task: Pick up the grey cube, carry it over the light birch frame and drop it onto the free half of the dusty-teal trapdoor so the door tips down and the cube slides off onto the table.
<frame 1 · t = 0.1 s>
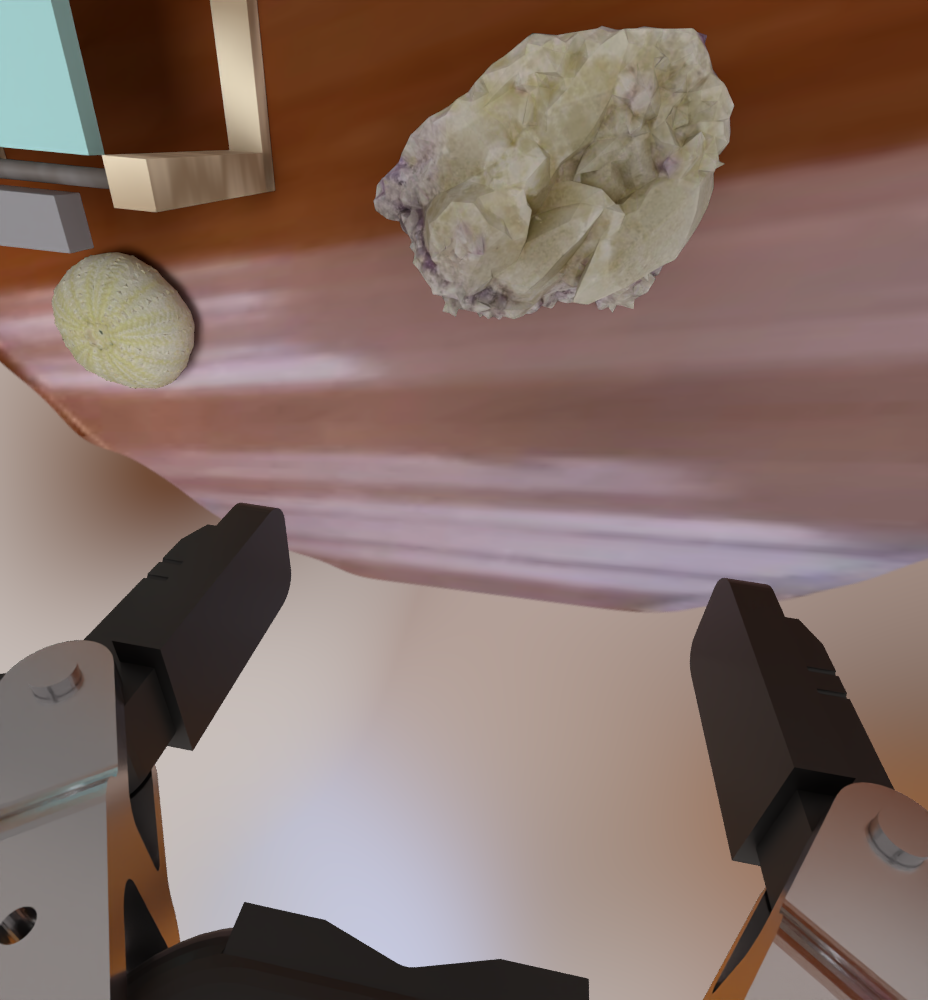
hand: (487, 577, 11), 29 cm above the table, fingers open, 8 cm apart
geode: (555, 198, 33), on the table
sea urchin shell: (146, 316, 41), on the table
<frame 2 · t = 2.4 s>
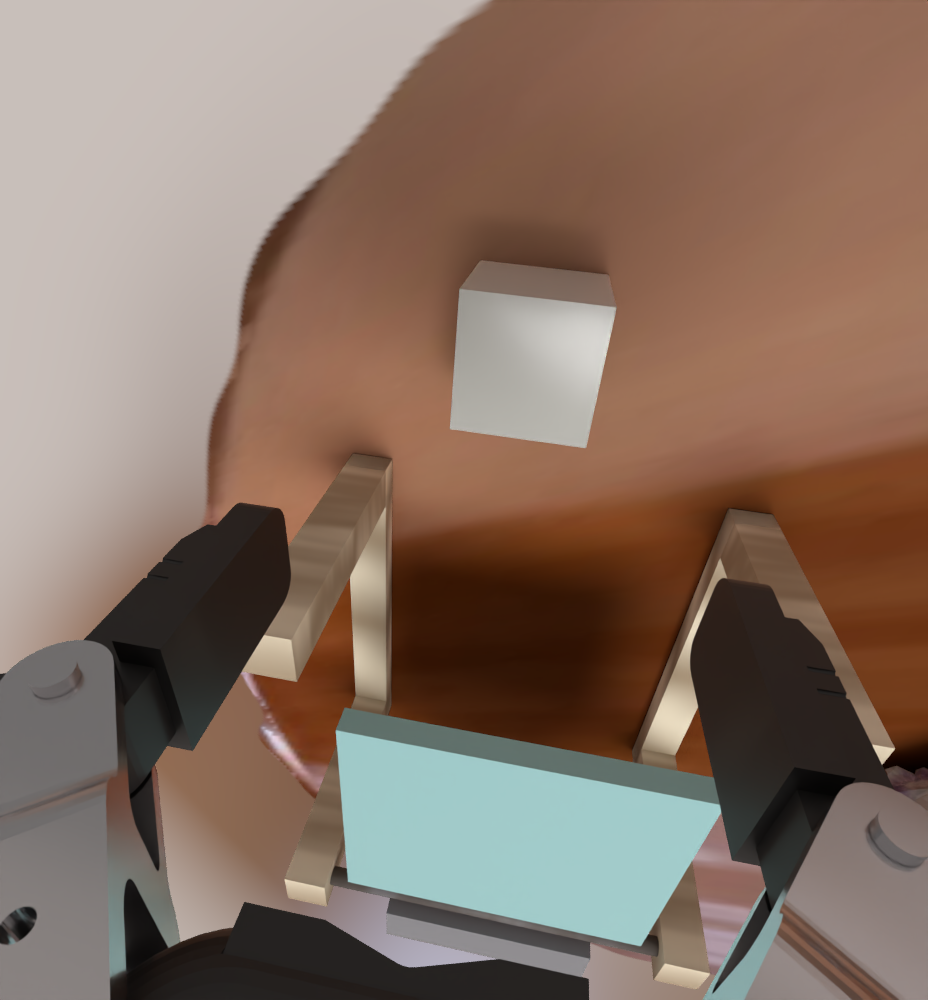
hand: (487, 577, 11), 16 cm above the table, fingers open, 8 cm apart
frame: (527, 631, 33), on the table
grey cube: (534, 330, 24), on the table
trapdoor: (501, 861, 25), point 11 cm above the table, hinge at -0.1°
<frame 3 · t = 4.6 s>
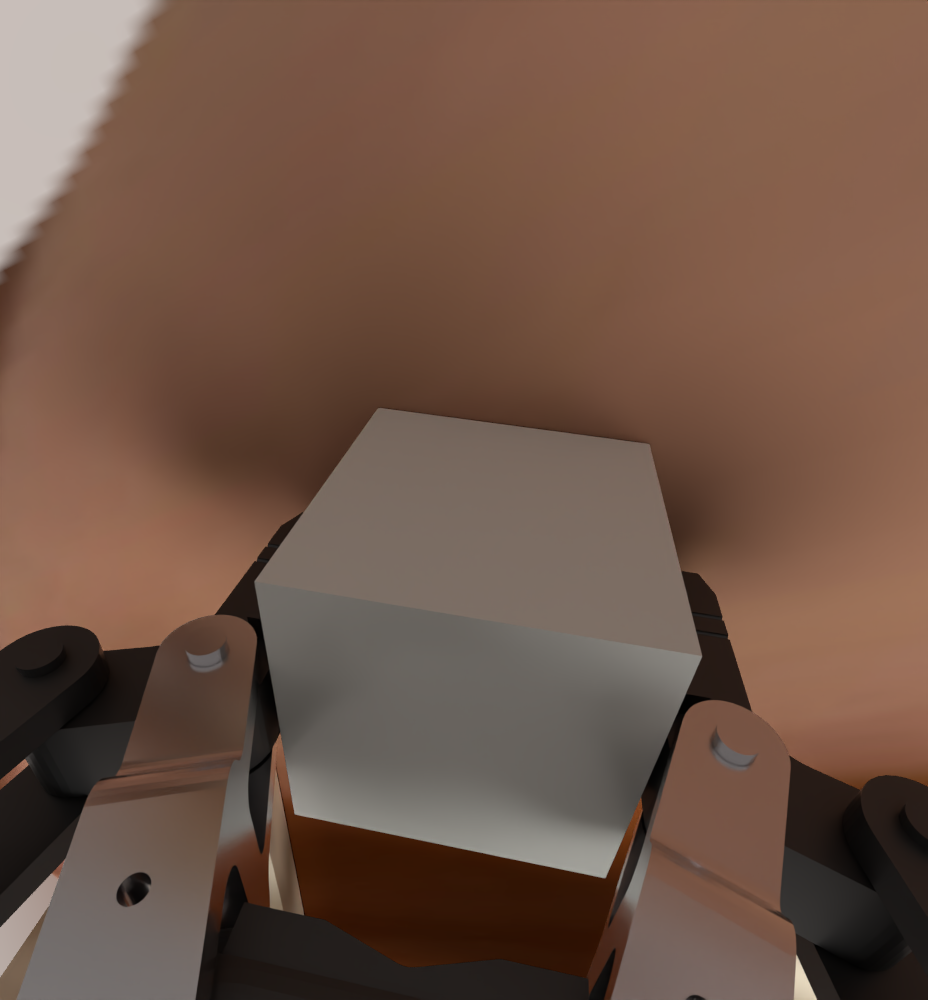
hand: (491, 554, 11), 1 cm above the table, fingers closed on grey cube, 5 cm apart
frame: (504, 914, 21), on the table
grey cube: (496, 534, 12), on the table, touching gripper
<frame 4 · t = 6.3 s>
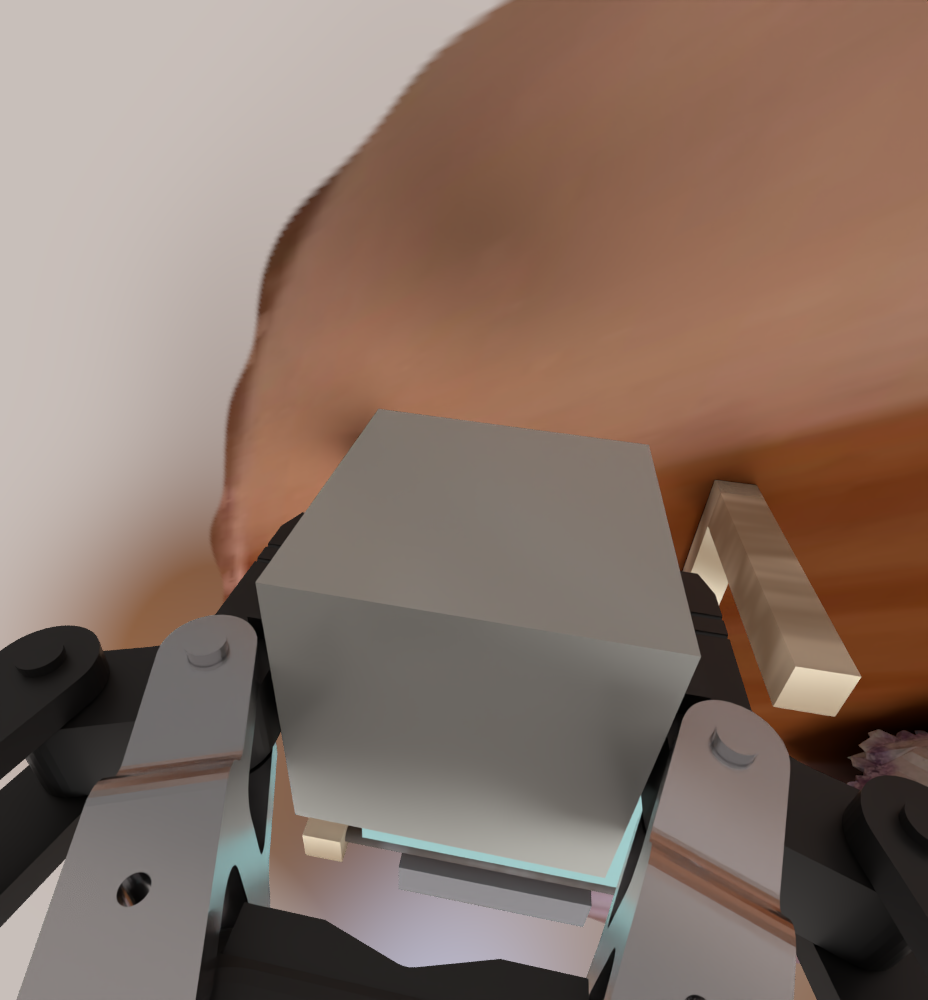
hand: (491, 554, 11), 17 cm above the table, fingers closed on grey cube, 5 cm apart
frame: (528, 604, 34), on the table
grey cube: (496, 535, 12), point 16 cm above the table, touching gripper
trapdoor: (506, 811, 27), point 11 cm above the table, hinge at -0.1°
when the fingers open (14 cm above the table, at t = 8.2 s): grey cube drops 11 cm and tips over, point 2 cm above the table.
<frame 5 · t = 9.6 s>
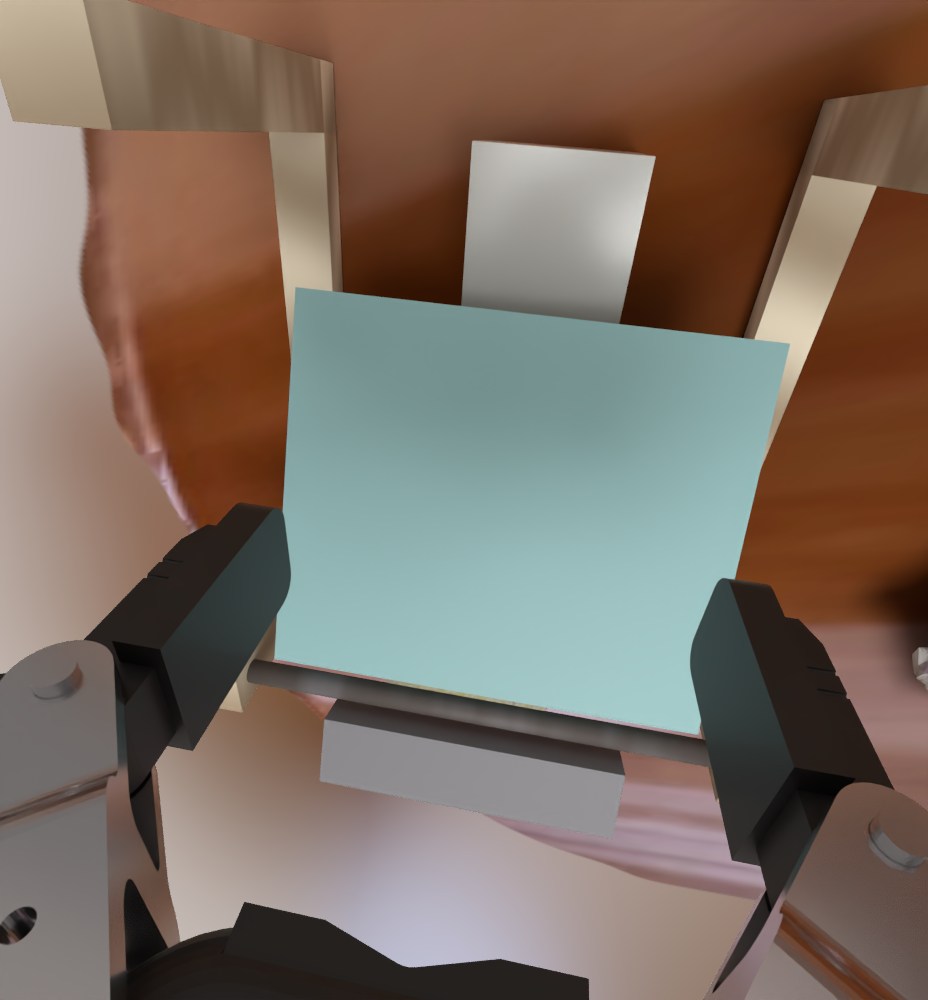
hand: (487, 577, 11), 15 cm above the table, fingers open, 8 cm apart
frame: (528, 373, 24), on the table
grey cube: (540, 311, 20), point 2 cm above the table, tilted 90°
sea urchin shell: (474, 653, 34), on the table
trapdoor: (495, 576, 18), point 9 cm above the table, hinge at -20.9°
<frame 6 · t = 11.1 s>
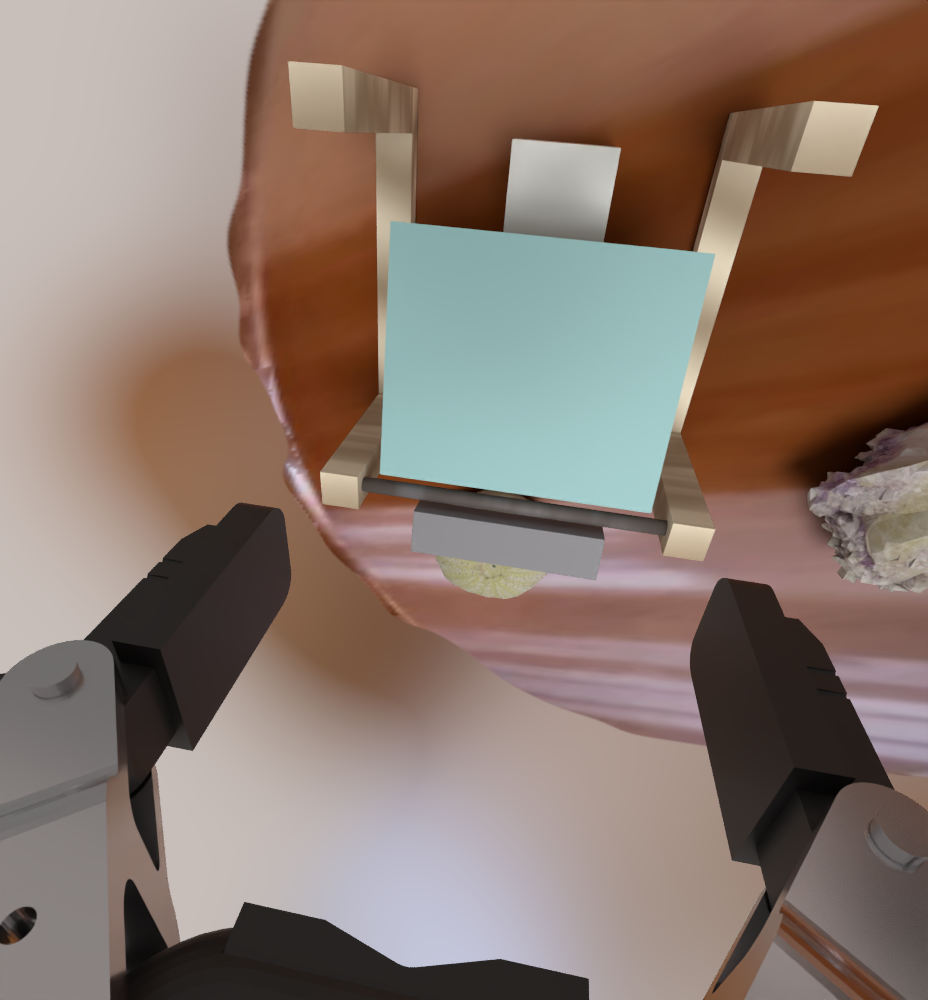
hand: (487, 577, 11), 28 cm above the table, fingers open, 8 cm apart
frame: (541, 299, 35), on the table
grey cube: (551, 250, 31), point 2 cm above the table, tilted 90°
sea urchin shell: (497, 529, 45), on the table
trapdoor: (523, 415, 28), point 10 cm above the table, hinge at -10.1°
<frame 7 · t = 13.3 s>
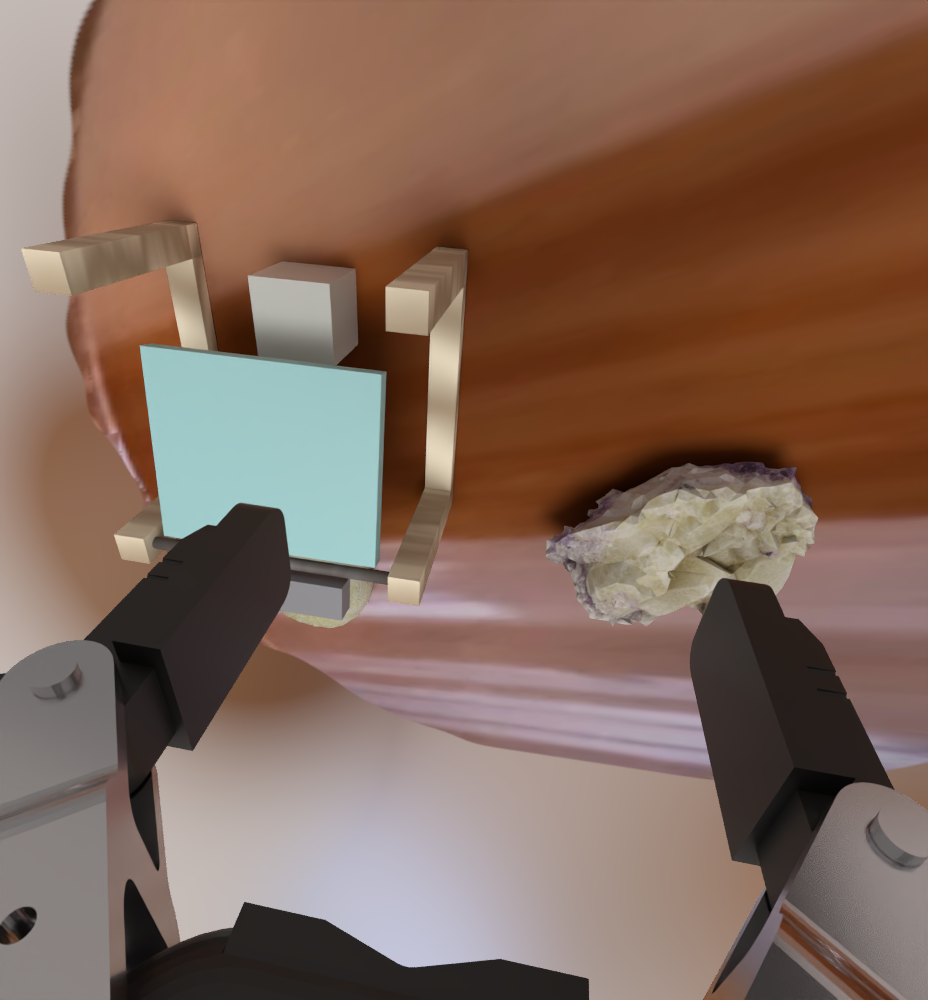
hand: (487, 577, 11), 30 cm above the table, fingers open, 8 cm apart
geode: (670, 525, 44), on the table
frame: (324, 383, 42), on the table
grey cube: (310, 350, 38), point 2 cm above the table, tilted 90°
sea urchin shell: (329, 566, 52), on the table
trapdoor: (268, 491, 35), point 10 cm above the table, hinge at -9.6°
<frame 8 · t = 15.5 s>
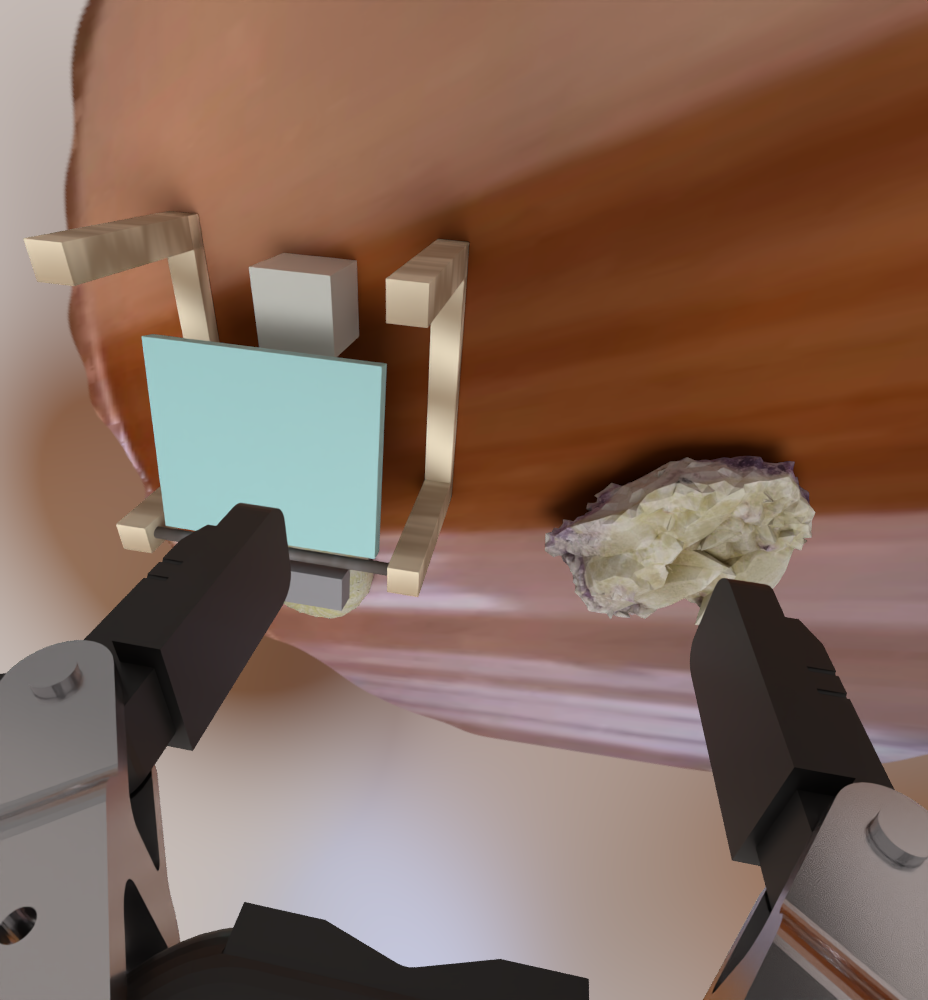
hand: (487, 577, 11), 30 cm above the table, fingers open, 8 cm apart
geode: (669, 519, 44), on the table
frame: (325, 375, 42), on the table
grey cube: (311, 342, 38), point 2 cm above the table, tilted 90°
sea urchin shell: (329, 557, 52), on the table
trapdoor: (269, 482, 35), point 10 cm above the table, hinge at -9.6°
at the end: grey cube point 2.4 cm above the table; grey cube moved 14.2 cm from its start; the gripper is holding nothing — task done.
